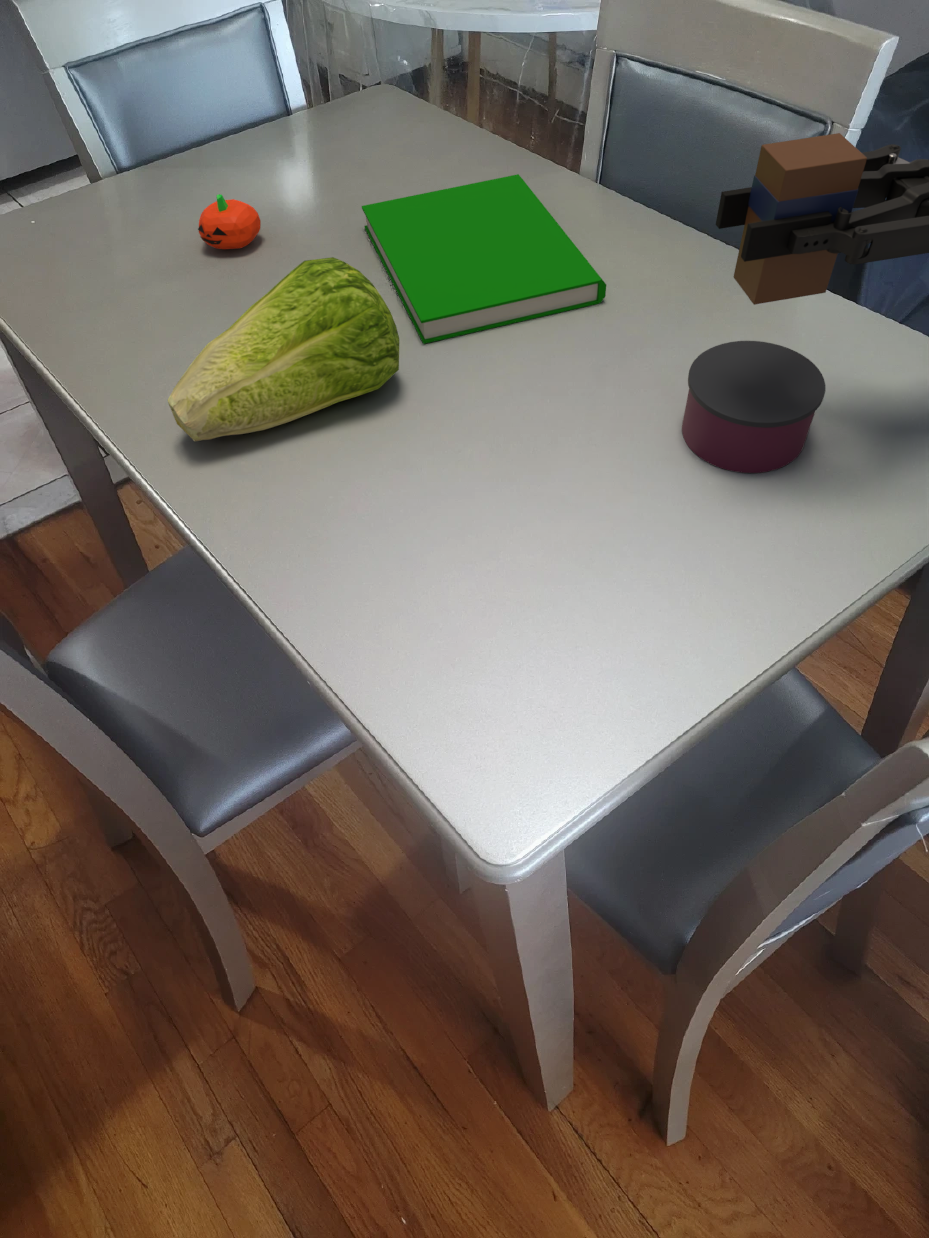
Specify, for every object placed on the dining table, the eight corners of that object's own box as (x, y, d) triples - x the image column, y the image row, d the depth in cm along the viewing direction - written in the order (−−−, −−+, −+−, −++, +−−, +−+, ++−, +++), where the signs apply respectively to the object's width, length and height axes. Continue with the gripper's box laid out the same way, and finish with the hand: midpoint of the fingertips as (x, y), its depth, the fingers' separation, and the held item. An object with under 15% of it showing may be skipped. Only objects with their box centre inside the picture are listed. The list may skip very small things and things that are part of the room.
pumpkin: (265, 254, 113) (253, 205, 108) (203, 261, 112) (188, 212, 107) (265, 227, 117) (254, 179, 112) (206, 233, 117) (192, 185, 112)
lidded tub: (833, 432, 86) (852, 379, 81) (755, 494, 82) (771, 441, 77) (730, 377, 93) (743, 325, 88) (652, 432, 88) (661, 380, 83)
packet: (802, 265, 75) (840, 132, 67) (826, 293, 73) (868, 158, 64) (732, 277, 75) (760, 144, 66) (753, 305, 72) (785, 171, 63)
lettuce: (232, 505, 88) (183, 439, 97) (427, 383, 93) (363, 330, 101) (163, 397, 77) (114, 333, 86) (388, 264, 82) (320, 217, 90)
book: (423, 344, 99) (421, 321, 97) (364, 228, 116) (361, 206, 113) (604, 302, 102) (606, 278, 100) (522, 195, 119) (522, 173, 117)
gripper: (1048, 282, 68) (768, 330, 66) (929, 180, 79) (685, 218, 77) (1098, 187, 62) (793, 236, 60) (963, 90, 73) (699, 129, 71)
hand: (733, 226), depth 69 cm, fingers closed on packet, 4 cm apart
